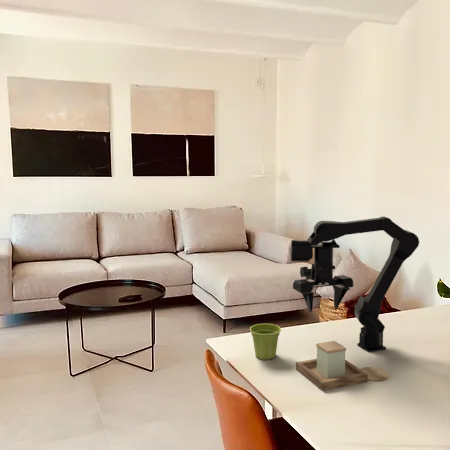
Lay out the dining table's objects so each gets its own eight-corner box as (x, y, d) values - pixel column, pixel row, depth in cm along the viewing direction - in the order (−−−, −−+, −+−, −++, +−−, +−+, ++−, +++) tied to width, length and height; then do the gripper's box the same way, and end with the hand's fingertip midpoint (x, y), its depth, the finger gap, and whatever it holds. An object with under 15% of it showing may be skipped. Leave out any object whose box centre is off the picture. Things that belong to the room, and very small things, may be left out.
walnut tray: (338, 361, 141) (338, 355, 141) (367, 381, 128) (367, 374, 128) (295, 369, 137) (295, 362, 136) (321, 390, 123) (321, 382, 123)
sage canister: (334, 367, 136) (334, 340, 135) (345, 375, 131) (346, 347, 130) (316, 370, 134) (316, 343, 133) (327, 378, 129) (327, 351, 128)
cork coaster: (370, 366, 138) (370, 364, 138) (394, 376, 131) (394, 374, 131) (352, 373, 133) (352, 371, 133) (375, 383, 127) (375, 382, 127)
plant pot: (279, 363, 141) (279, 334, 140) (247, 361, 143) (247, 333, 142) (282, 351, 150) (282, 324, 149) (252, 349, 152) (252, 322, 151)
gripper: (335, 255, 160) (334, 300, 162) (284, 259, 154) (284, 306, 156) (354, 261, 150) (354, 309, 152) (301, 266, 144) (301, 316, 146)
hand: (323, 310), depth 152 cm, fingers open, 9 cm apart
